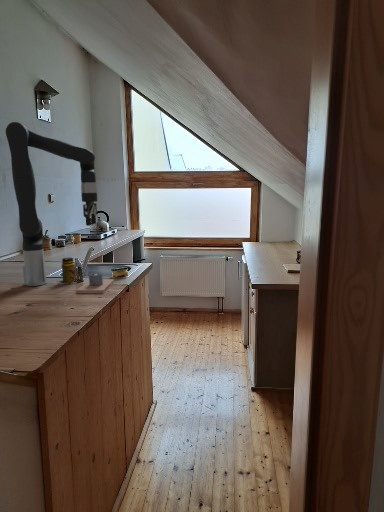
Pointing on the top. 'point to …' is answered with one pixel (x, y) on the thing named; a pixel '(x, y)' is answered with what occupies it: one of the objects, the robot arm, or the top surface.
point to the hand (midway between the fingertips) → (91, 224)
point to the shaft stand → (96, 287)
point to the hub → (95, 279)
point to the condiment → (68, 271)
